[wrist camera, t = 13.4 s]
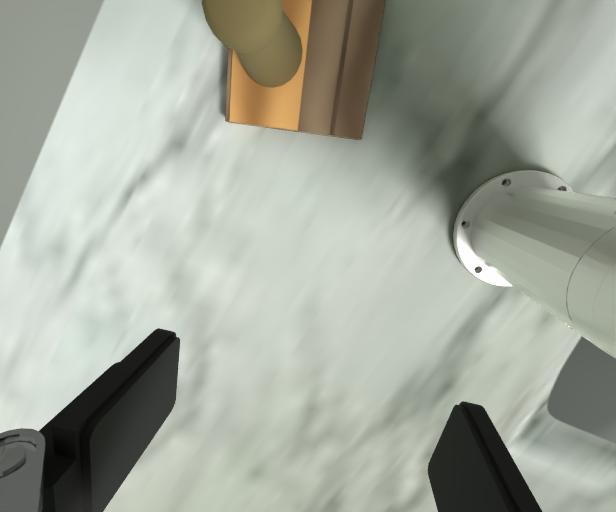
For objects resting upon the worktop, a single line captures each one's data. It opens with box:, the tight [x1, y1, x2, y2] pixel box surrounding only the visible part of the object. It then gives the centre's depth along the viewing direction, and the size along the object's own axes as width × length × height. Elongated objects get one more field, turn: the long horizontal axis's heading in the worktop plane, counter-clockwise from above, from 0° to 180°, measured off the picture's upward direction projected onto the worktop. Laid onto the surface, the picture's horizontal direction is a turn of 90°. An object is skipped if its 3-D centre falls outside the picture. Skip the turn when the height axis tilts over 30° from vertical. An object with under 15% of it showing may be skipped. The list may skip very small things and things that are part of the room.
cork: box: [202, 0, 303, 88], centre depth 24 cm, size 6×6×11 cm
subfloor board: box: [225, 0, 385, 140], centre depth 30 cm, size 14×13×2 cm
